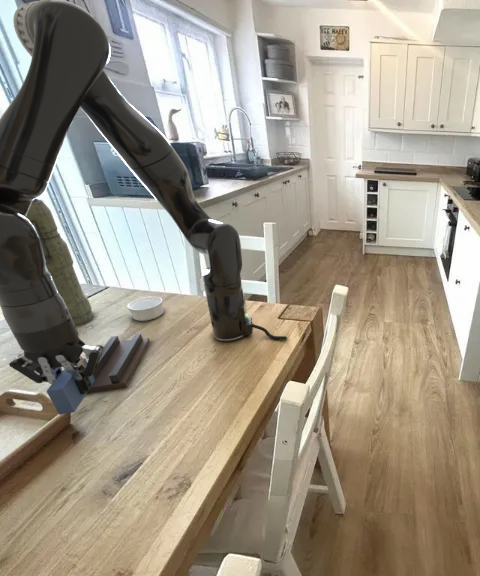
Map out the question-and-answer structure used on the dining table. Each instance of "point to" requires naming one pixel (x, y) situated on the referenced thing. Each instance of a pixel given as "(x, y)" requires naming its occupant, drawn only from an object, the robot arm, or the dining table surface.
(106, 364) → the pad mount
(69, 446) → the dining table surface
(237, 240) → the robot arm
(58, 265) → the olive green tall column
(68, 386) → the back pad
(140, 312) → the ramekin
